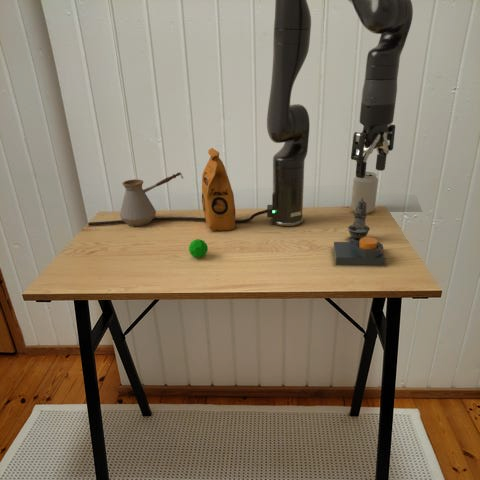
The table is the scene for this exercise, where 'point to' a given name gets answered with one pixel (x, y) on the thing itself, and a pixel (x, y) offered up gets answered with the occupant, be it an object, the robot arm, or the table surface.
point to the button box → (358, 254)
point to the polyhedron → (198, 248)
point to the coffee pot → (139, 202)
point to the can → (365, 191)
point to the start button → (368, 243)
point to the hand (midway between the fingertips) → (370, 173)
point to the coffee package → (217, 195)
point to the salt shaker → (359, 223)
